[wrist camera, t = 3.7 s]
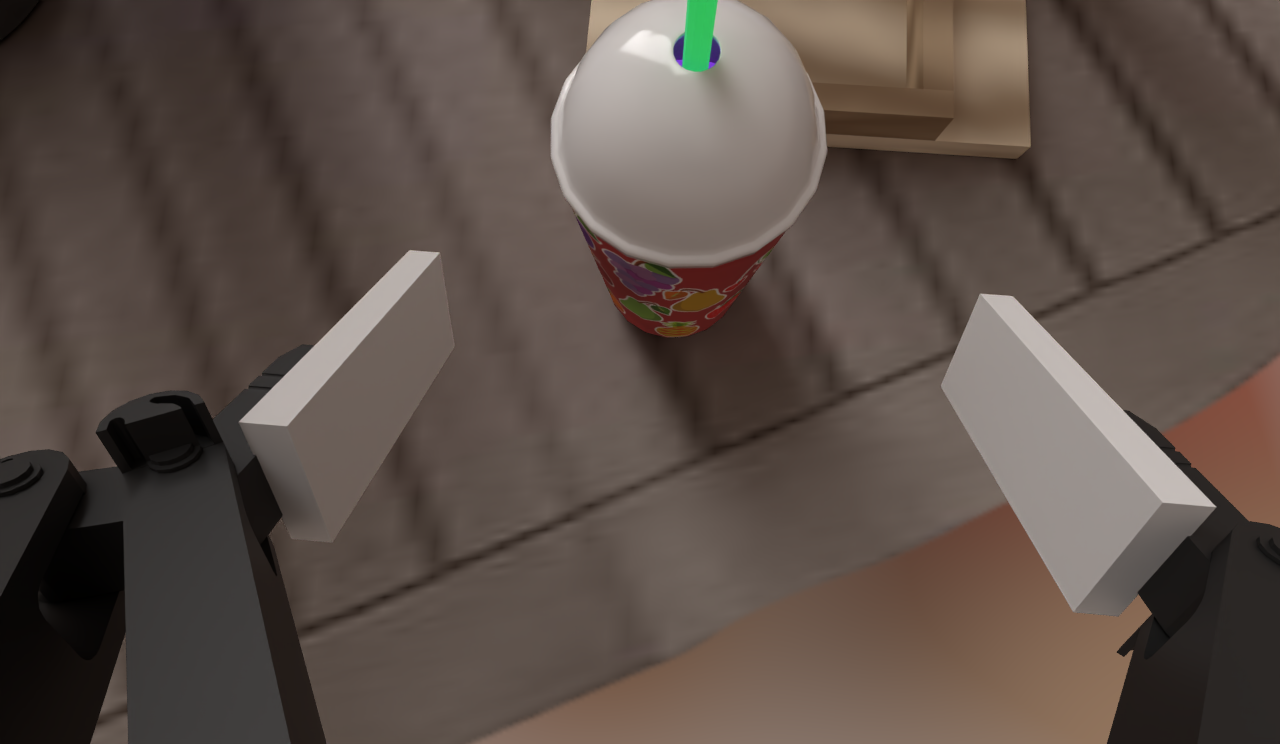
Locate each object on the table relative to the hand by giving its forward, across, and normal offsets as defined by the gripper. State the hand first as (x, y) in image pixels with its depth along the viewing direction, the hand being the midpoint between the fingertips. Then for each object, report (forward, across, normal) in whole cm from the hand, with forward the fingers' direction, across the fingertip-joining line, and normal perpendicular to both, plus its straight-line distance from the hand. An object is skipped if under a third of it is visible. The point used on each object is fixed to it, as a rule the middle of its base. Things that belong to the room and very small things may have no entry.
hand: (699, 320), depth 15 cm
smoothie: (+16, -1, -7) cm, 17 cm away
